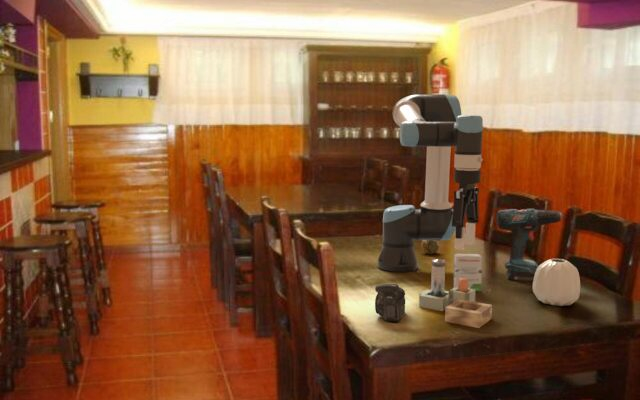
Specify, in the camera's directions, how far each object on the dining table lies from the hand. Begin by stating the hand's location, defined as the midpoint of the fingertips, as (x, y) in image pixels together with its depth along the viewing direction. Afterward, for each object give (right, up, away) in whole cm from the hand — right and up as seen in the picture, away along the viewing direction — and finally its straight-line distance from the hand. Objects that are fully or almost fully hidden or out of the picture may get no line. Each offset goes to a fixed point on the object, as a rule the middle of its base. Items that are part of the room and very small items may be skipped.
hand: (464, 246), depth 187 cm
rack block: (0, -20, -7) cm, 21 cm away
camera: (-22, -20, -4) cm, 30 cm away
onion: (+4, -9, +79) cm, 80 cm away
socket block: (-4, -19, +5) cm, 20 cm away
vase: (+31, -18, +11) cm, 37 cm away
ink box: (+6, -16, +25) cm, 30 cm away
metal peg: (-7, -18, +7) cm, 21 cm away
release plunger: (0, -15, +2) cm, 15 cm away
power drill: (+31, -14, +40) cm, 53 cm away
